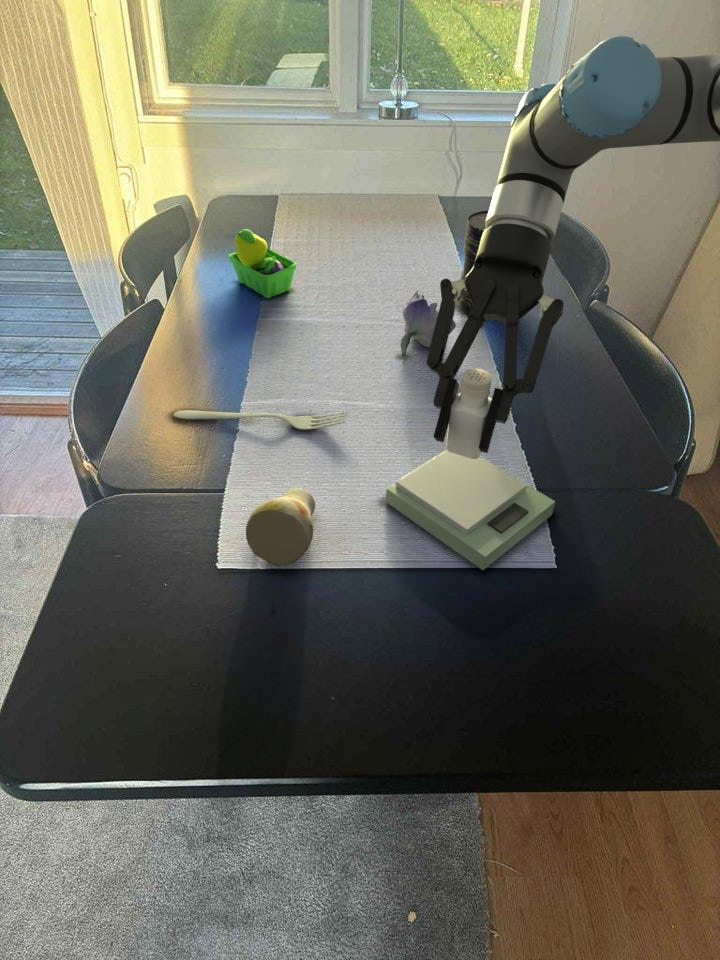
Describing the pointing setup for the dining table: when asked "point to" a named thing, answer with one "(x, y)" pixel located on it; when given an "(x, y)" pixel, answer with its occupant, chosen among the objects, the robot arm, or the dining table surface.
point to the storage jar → (471, 251)
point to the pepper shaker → (469, 414)
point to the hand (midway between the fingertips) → (460, 444)
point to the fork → (296, 422)
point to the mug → (282, 527)
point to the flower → (419, 321)
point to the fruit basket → (261, 265)
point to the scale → (470, 505)
